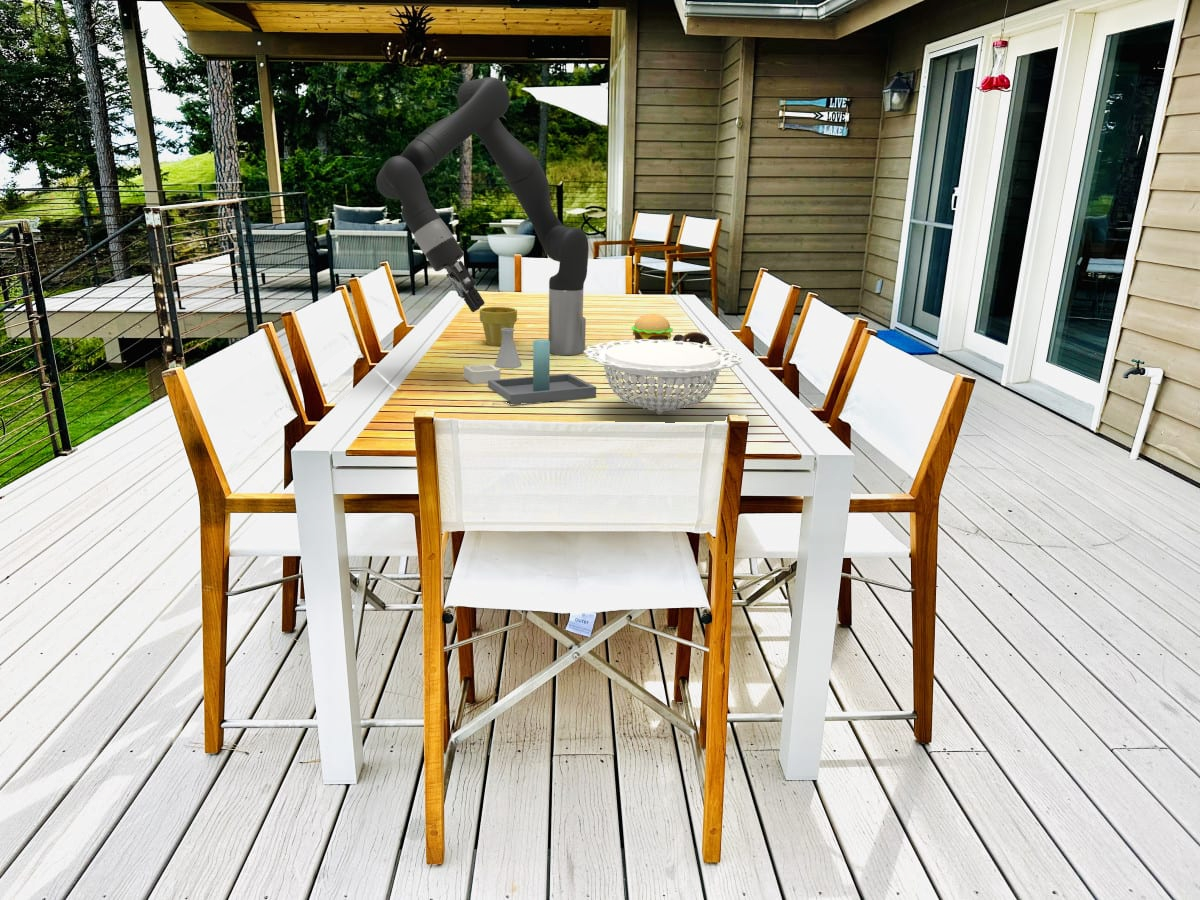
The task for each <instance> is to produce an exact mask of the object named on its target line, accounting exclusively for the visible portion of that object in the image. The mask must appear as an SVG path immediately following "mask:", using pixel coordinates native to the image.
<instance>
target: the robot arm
mask: <svg viewBox="0 0 1200 900" xmlns="http://www.w3.org/2000/svg"><path fill="white" fill-rule="evenodd" d="M456 97H457V98H456V99H457V104H458V109H456V110H455V111H453V112H452V113H451V114H449V115H447V116H446V117H443V118H442V119H440V120H438V121H436V122H434V123H433V124H432V125H430V126H429V127H427V128H426V129H425V130H423V131H422V132H421V133H419V135H418V136H417V137H415V138H414V139H413V140H412V141H411V142H410V143H409V144H408V145H407V146H406V147H405V149H404V150H403V152H401V153H400V155H395V156H392V157H390V158H389V159H387V161H385V164H384V165H383V166H382V167H381V168H380V169H379V172H378V174H377V176H376V187H377V190H378V192H379V193H380V194H381V195H382V196H383V197H384V198H387V199H390V200H398V199H399V200H400V201H399V202H400V203H401V205H402V206H401V216H402V220H403V221H404V223H405V224H406V225H407V227H408V228H409V230H410V232H411V233H412V235H413V237H414V239H415V241H416V243H417V245H418V247H419V248H420V250H421V251H422V253H423V254H424V256H425V258H426V259H427V261H428V262H429V264H430V265H431V267H432V269H433V270H434V271H435V272H440V271H442V270H446V272H447V274H446V278H447V279H448V281H449V282H450V284H451V285H452V286H453V289H454V290H455V292H456V293H457V296H458V297H460V298H461V299H463V300H464V302H465V304H466V305H467V307H468V309H469V310H470V312H472V313H475V312H477V311H478V310H480V309H481V307H483V306H484V305H485V303H486V302H485V300H484V298H482V295H481V294H480V292H479V291H478V289H477V285H476V282H475V280H474V279H473V277H472V276H471V274H470V273H469V271H468V270H467V268H466V267H465V265H464V262H463V261H462V260H460V259H462V258H463V256H464V251H463V249H462V247H461V246H460V244H459V242H457V240H456V238H455V236H454V234H452V232H451V230H450V229H449V226H448V225H446V223H445V222H444V220H443V219H442V218H441V217H440V215H439V213H438V211H437V210H436V209H435V207H434V206H433V203H431V200H430V199H429V196H428V195H429V194H428V192H427V190H426V187H425V184H424V182H423V179H422V178H423V177H424V176H425V175H426V174H427V173H429V172H430V171H431V170H432V169H434V168H435V167H436V166H437V165H438V164H440V162H442V161H443V160H444V159H445V158H446V157H447V156H448V155H450V153H452V151H454V150H455V149H456V148H457V147H459V145H461V144H462V143H463V142H465V141H466V140H467V139H469V138H470V137H471V136H473V135H474V134H476V136H478V138H479V140H481V142H482V144H483V145H484V146H485V147H486V149H487V151H488V152H489V155H490V156H491V158H492V159H493V161H494V162H495V164H496V166H497V167H498V169H499V171H500V173H501V174H502V176H503V177H504V179H505V181H506V183H507V185H508V186H509V189H510V190H511V192H512V193H513V194H514V196H515V197H516V199H517V201H518V203H519V205H520V206H521V207H522V209H523V211H524V214H525V215H526V216H527V218H528V219H529V222H530V223H531V225H532V226H533V227H532V228H533V229H534V231H535V234H536V235H537V238H538V241H539V242H540V245H541V246H542V249H543V251H544V252H545V253H546V255H547V256H548V258H550V259H551V260H552V261H555V262H558V263H559V264H558V265H559V267H558V272H557V273H556V274H555V275H552V276H551V277H549V281H548V339H547V340H549V341H550V354H554V355H559V356H572V355H573V356H575V355H580V354H585V353H584V350H586V323H587V320H586V317H585V316H584V314H583V313H584V288H585V287H584V285H585V281H586V279H587V276H588V265H589V264H588V263H589V249H590V246H589V240H588V235H587V234H586V232H585V231H584V230H583V229H582V228H578V227H575V226H574V227H572V226H565V225H563V223H562V222H561V221H560V220H559V217H557V214H556V213H555V211H554V210H553V206H552V205H551V197H550V196H551V195H550V194H551V193H550V184H549V180H548V177H547V176H546V173H545V171H544V170H543V167H542V166H541V164H540V162H539V160H538V158H537V157H536V156H535V154H534V153H533V152H532V151H531V150H530V149H529V148H528V147H526V146H525V145H524V144H523V143H522V142H520V140H518V139H517V138H515V137H514V136H513V134H511V133H510V132H509V130H507V129H506V128H505V126H504V125H503V124H502V122H501V119H500V118H501V117H503V116H504V115H505V114H506V113H507V111H508V109H509V106H510V100H511V97H510V92H509V89H508V87H507V85H506V83H504V82H503V81H502V80H501V79H500V78H497V77H493V76H490V77H489V76H488V77H487V76H485V77H481V78H477V79H471V80H467V81H465V82H463V83H461V84H460V86H459V87H458V91H457V96H456Z"/></svg>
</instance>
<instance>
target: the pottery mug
mask: <svg viewBox="0 0 1200 900" xmlns="http://www.w3.org/2000/svg"><path fill="white" fill-rule="evenodd" d="M672 341H683V342H695V343H700V344H704V343H705V344H704V345H712V343H711V342H710V338H709V337H708V336H707V335H706V334H704V333H702V332H699V331H698V332H697V331H691V332H689V333H686V334H684V335H682V334H675V335H674V336H673V339H672ZM694 345H695V344H694ZM700 348H703V346H701V347H700Z"/></svg>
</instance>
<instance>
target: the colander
mask: <svg viewBox="0 0 1200 900" xmlns="http://www.w3.org/2000/svg"><path fill="white" fill-rule="evenodd" d="M643 340H645V341H643ZM664 341H665V342H664ZM636 342H637V343H636ZM655 342H657V343H655ZM694 344H695V345H694ZM701 346H702V347H703V348H700V347H701ZM583 354H585V355H584V357H586V358H588V360H590V361H593V362H595V363H599V365H602V366H603V369H604V371H605V378H606V380H607V382H608V385H609V388H611V389H612V391H613V393H614V395H616V396H617V397H619V398H620V400H622V402H623V401H624V402H625V403H629V404H630V405H634V406H637V407H640V408H641V407H642V409H643V410H645V409H647V410H648V411H655V412H656V414H657V415H661V414H662V412H663V411H666V412H670V411H672V410H674V411H676V410H677V409H684V408H688V407H691V406H692V407H693V406H695V405H697V404H699V403H700V402H701V401H703V400H704V399H706V398H707V397H708V395H709V394H710V393H711V391H713V387H714V385H715V384H717V381H718V380H717V377H718V376H719V375H720V371H722V370H724V369H731V368H733V367H735V366H737V365H741V364H742V363H743V362H742V361H741V359H742V357H741V356H740V355H738V354H737V352H736V353H735V352H733V350H731V349H725V348H721V347H719V346H717V345H713V344H711V345H705V344H704V343H703V344H700V343H695V342H683V341H673V339H669V340H649V339H640V340H634V339H621V340H617V341H616V340H610V341H608V342H599V343H597V344H595V345H589V346H586V349H585V350H584V353H583ZM656 378H657V379H656ZM621 380H622V381H621ZM637 384H640V386H638V385H637ZM644 384H646V385H644ZM655 384H657V385H658V386H657V385H655ZM664 384H666V385H665V386H663V385H664ZM675 386H677V387H676V388H675ZM681 386H683V388H681ZM633 391H634V392H633ZM673 391H674V392H673ZM681 393H683V394H681Z"/></svg>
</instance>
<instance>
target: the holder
mask: <svg viewBox="0 0 1200 900" xmlns="http://www.w3.org/2000/svg"><path fill="white" fill-rule="evenodd" d="M462 367H463V369H462V370H463V373H462V374H463V379H464V380H466V381H467V382H469V383H471V384H472V385H477V384H488V380H496V379H501V369H500V368H498V367H494V365H492V364H490V363H488V364H487V363H485V364H477V365H476V364H474V365H463V366H462Z"/></svg>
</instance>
